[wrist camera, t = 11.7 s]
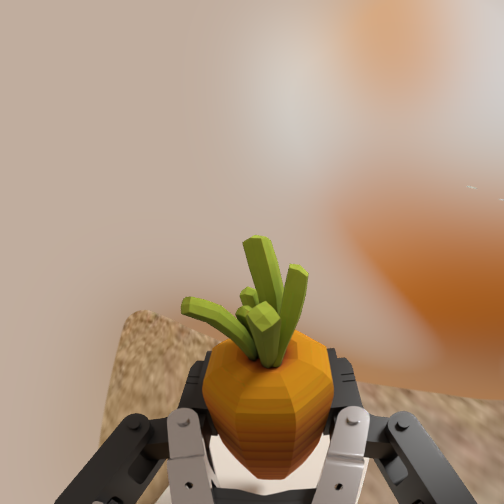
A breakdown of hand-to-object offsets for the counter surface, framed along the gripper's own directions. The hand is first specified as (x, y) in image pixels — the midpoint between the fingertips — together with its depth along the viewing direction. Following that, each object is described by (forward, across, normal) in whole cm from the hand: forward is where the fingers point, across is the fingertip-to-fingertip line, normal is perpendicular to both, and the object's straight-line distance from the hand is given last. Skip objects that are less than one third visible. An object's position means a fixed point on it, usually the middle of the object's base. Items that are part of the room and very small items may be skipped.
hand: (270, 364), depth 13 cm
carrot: (-3, 0, +8) cm, 9 cm away
